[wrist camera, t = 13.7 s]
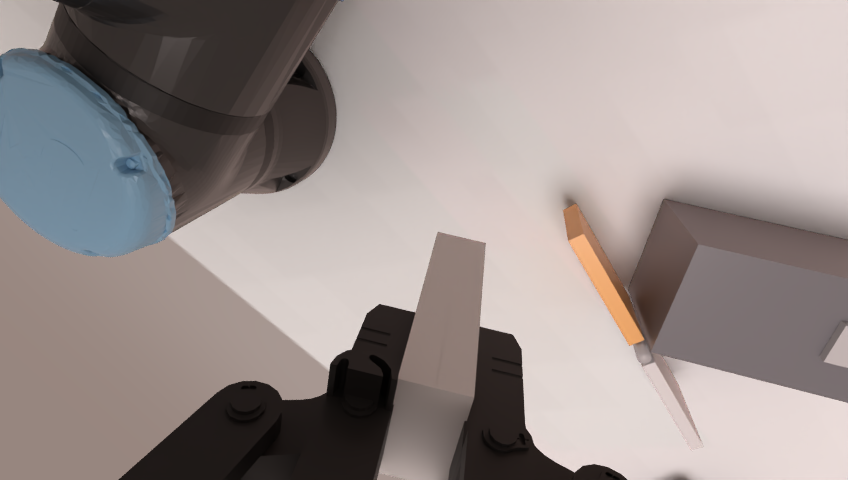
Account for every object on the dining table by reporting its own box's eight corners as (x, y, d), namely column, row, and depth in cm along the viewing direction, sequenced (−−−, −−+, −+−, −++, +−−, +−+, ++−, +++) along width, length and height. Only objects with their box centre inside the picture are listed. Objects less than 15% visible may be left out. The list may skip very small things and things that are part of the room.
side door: (562, 207, 44) (568, 244, 36) (575, 201, 43) (584, 237, 36) (665, 386, 48) (690, 452, 41) (678, 382, 48) (705, 448, 40)
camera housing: (627, 291, 47) (651, 359, 37) (663, 199, 43) (701, 247, 33) (833, 341, 45) (915, 427, 35) (891, 249, 41) (1000, 317, 31)
